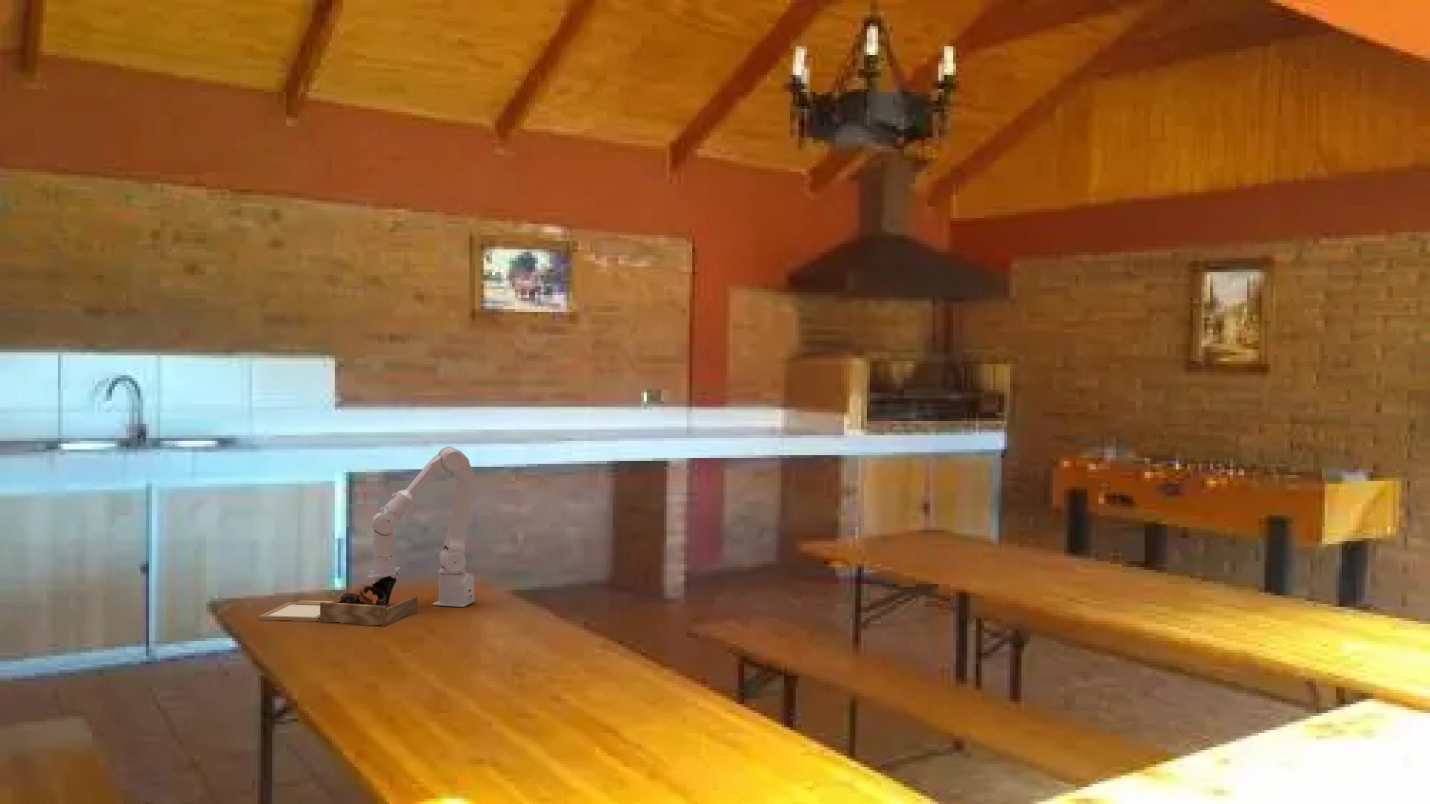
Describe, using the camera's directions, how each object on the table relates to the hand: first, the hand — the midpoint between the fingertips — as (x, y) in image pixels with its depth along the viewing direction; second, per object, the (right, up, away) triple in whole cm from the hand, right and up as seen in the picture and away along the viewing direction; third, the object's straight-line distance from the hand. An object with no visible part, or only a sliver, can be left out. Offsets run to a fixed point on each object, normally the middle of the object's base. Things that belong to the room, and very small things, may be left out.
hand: (383, 604), depth 310 cm
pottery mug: (-4, -2, -6) cm, 7 cm away
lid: (-20, -1, -5) cm, 21 cm away
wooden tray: (-1, -1, -9) cm, 9 cm away
